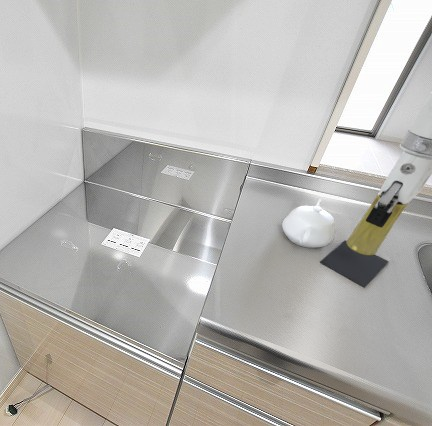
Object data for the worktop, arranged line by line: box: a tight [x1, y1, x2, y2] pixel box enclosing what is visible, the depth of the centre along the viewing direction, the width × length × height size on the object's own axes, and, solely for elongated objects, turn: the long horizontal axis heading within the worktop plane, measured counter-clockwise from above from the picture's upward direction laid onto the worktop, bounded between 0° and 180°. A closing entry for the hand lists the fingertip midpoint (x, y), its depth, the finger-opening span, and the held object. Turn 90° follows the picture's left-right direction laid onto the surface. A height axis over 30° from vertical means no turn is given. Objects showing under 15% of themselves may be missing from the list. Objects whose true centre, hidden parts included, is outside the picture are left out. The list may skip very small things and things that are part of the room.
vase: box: [346, 193, 409, 255], centre depth 67 cm, size 6×6×14 cm
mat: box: [319, 239, 389, 289], centre depth 74 cm, size 10×14×1 cm
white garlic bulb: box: [281, 197, 336, 249], centre depth 80 cm, size 20×12×10 cm, turn 142°
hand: (379, 218), depth 66 cm, fingers closed on vase, 5 cm apart
